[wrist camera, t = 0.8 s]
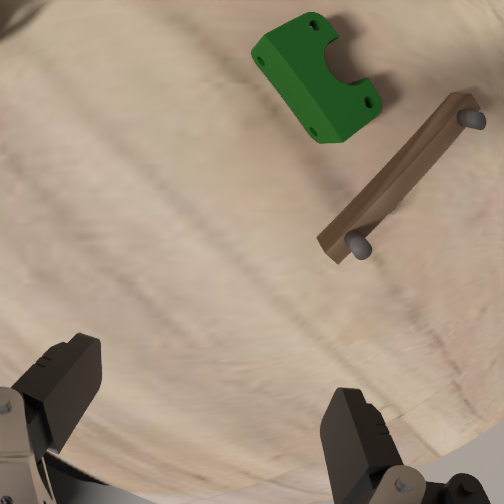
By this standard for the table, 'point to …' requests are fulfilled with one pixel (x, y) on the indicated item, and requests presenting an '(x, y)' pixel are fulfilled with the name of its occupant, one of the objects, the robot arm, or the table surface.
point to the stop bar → (399, 177)
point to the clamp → (314, 80)
